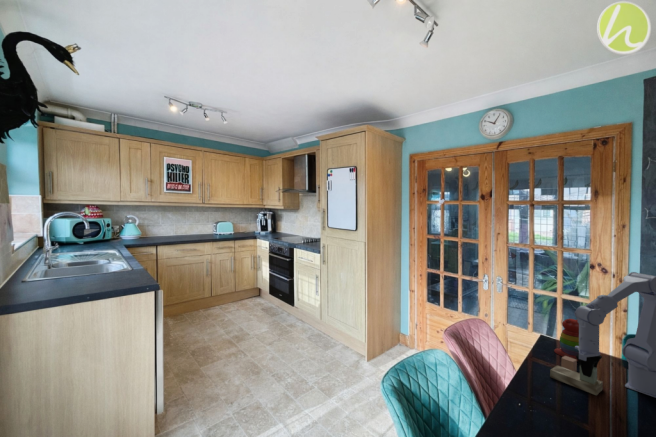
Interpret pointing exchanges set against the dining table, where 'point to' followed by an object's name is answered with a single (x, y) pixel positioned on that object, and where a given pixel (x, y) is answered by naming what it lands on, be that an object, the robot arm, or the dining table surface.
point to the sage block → (589, 379)
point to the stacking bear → (569, 339)
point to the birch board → (575, 380)
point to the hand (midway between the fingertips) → (588, 374)
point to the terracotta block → (569, 363)
